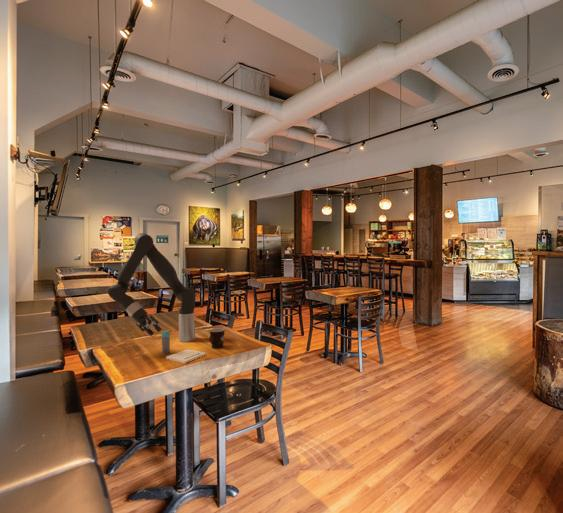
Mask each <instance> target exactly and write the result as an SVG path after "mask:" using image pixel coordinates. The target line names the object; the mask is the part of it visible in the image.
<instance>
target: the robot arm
mask: <svg viewBox="0 0 563 513" xmlns="http://www.w3.org/2000/svg"><path fill="white" fill-rule="evenodd" d="M134 244H135V247H134V249H133V251H132V253H131V255H130V256H129V258H128V259H127V260H126V262H125V263H124V264H123V266H122V267H121V269H120V271H119V272H118V275H117V277H116V279H117V283H116V284H111V285H110V286H109V287H108V288H107V295H109V297H110V298H111V299H112V300H113V301H114V302H116V303H117V304H118V305H120V306H121V307H122V308H123V310H125V312H126V313H127V314H128V315H129V317H130V318H132V319H133V321H134V322H135V325H136V326H137V327H138V328H139V329H140V330H141V331H142V332H146V333H147V334H148V335H149V336H150V337H152V336H153V335H154V334H155V332H154V331H153V330H152V329H151V328H150V327H152V328H154V329H155V330H156V331H157V332H158V333H161V332H162V328H161V327H160V326H159V325H158V324H159V322H158V321H157V319H156V318H155V317H154V316H152V315H150V316H148V313H149V312H147V311H146V310H145V309H144V307H143V306H142V305H141V304H140V303H138V301H136V300H135V299H134V298H133V297H132V296H131V295H128V294H126V293H127V290H128V289H129V285H130V282H131V280H132V278H133V277H134V274H135V272H136V271H137V269H138V267H139V265H140V264H141V262H142V261H143V259H144V257H146V258H147V259H148V261H149V262H150V264H151V265H152V267H153V268H154V270H155V271H156V272H157V274H158V276H160V278H161V279H162V280H163V281H164V282H165V284H166V285H167V286H168V287H169V288H170V289H171V291H172V293H173V294H174V296H175V297H176V299H177V300H178V301H179V302H180V303H181V306H180V307H179V309H178V339H179V340H178V341H179V342H182V343H187V342H193V341H194V340H196V324H195V316H194V315H195V312H194V311H195V307H196V292H195V291H194V289H192V288H190V287H186V286H185V285H183V283H182V282H181V280H180V279H179V278H178V277H179V276H178V274H177V271H176V269H175V267H174V266H173V264H172V263H171V262H170V261H169V260H168V259H167V257H166V256H165V255H164V254H162V252H160V251H159V249H157V247H156V245H155V243H154V238H153V237H152V236H151V235H149V234H148V233H143V232H142V233H137V234H136V235H135V237H134Z"/></svg>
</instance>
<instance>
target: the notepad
mask: <svg viewBox="0 0 563 513" xmlns="http://www.w3.org/2000/svg"><path fill="white" fill-rule="evenodd" d="M204 355H205V356H207V352H203V351H198V350H196V349H195V350H193V349H189V348H187V349H184V350H181V351H179V352H178V351H177V352H176V353H173V354H170V355H166V356H165V359H166V360H168V359H169V360H168V361H173V362H177V363H181V364H184V363H185V364H187V362H188V363H190V362H192V360H193V361H195V360H197V358H198V359H200V358H203V357H205V356H204ZM202 356H203V357H202ZM199 357H200V358H199ZM194 359H195V360H194ZM189 361H190V362H189Z"/></svg>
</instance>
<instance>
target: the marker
mask: <svg viewBox="0 0 563 513" xmlns="http://www.w3.org/2000/svg"><path fill="white" fill-rule="evenodd" d="M170 338H171V331H170V330H164V331H162V330H161V350H162V351H161V354H162V355H169V354H170V353H171V348H170V347H171V346H170V345H171V343H170V340H171V339H170Z"/></svg>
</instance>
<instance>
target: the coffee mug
mask: <svg viewBox="0 0 563 513" xmlns="http://www.w3.org/2000/svg"><path fill="white" fill-rule="evenodd" d="M225 331H226V330H225V328H220V327H219V328H212V329H210V330H209V342H210V344H211V349H215V350H219V349H223V347H224V340H225V339H224V338H225Z"/></svg>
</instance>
